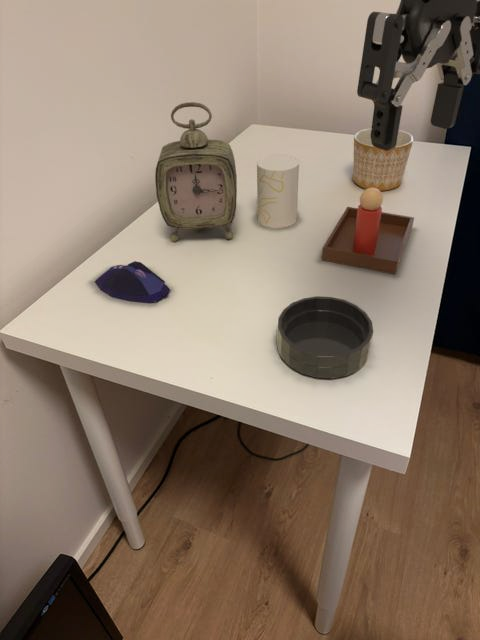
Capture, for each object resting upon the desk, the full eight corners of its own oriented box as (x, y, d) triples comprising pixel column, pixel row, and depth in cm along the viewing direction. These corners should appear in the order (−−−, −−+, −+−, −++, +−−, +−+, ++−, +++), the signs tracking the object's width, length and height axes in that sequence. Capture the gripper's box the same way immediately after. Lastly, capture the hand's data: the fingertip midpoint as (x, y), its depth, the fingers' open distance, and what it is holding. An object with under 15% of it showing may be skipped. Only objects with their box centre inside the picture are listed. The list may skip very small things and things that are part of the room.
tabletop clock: (164, 246, 94) (143, 111, 78) (169, 224, 101) (150, 96, 85) (239, 243, 94) (232, 108, 78) (238, 221, 101) (233, 92, 85)
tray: (346, 218, 100) (347, 206, 98) (411, 229, 96) (414, 217, 94) (321, 260, 88) (322, 247, 87) (395, 274, 84) (397, 262, 82)
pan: (348, 313, 76) (351, 290, 73) (384, 371, 66) (389, 347, 63) (268, 327, 74) (268, 303, 71) (292, 388, 64) (293, 364, 61)
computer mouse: (122, 261, 90) (117, 242, 88) (186, 283, 84) (183, 263, 81) (85, 287, 84) (80, 267, 82) (152, 312, 78) (148, 292, 75)
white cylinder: (249, 217, 102) (248, 161, 94) (279, 206, 105) (279, 151, 98) (275, 232, 97) (275, 174, 89) (304, 219, 100) (307, 162, 93)
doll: (369, 245, 90) (379, 182, 82) (378, 256, 87) (389, 192, 79) (349, 248, 90) (356, 185, 82) (357, 259, 87) (366, 195, 79)
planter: (339, 185, 113) (343, 139, 106) (365, 167, 120) (371, 124, 113) (389, 198, 106) (397, 151, 100) (414, 179, 113) (423, 134, 107)
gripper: (440, -93, 29) (395, 169, 39) (560, -98, 35) (494, 129, 46) (348, -88, 34) (329, 144, 44) (468, -93, 40) (427, 111, 50)
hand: (413, 136), depth 45 cm, fingers open, 8 cm apart
